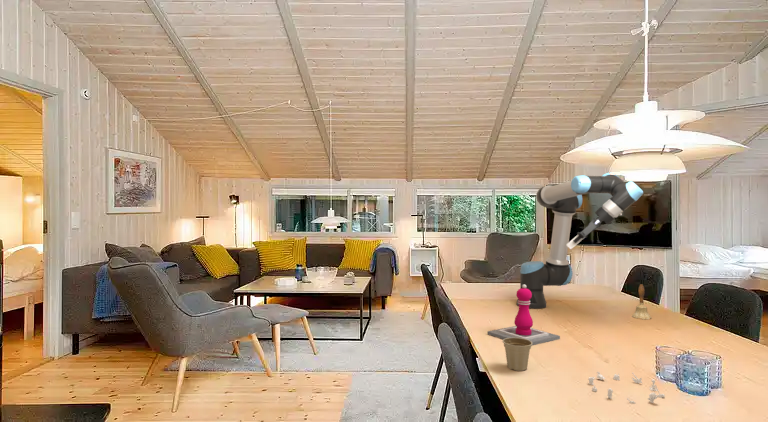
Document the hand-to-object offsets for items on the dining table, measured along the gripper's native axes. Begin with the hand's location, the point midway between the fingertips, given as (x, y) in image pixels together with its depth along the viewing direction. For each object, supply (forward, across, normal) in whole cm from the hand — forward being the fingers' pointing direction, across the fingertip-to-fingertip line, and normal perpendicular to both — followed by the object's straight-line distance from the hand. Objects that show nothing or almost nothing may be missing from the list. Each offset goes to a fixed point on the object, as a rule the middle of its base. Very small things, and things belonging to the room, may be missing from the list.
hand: (570, 246), depth 205 cm
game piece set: (+10, -69, -41) cm, 81 cm away
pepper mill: (+35, -26, -14) cm, 46 cm away
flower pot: (+32, -65, -19) cm, 75 cm away
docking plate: (+36, -26, -15) cm, 46 cm away
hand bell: (+5, +36, -46) cm, 59 cm away
